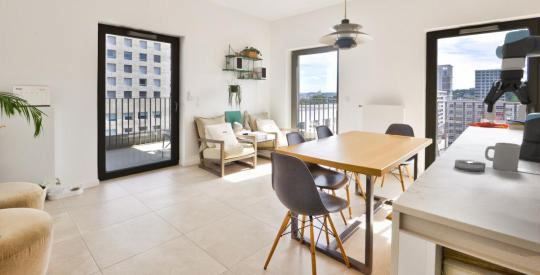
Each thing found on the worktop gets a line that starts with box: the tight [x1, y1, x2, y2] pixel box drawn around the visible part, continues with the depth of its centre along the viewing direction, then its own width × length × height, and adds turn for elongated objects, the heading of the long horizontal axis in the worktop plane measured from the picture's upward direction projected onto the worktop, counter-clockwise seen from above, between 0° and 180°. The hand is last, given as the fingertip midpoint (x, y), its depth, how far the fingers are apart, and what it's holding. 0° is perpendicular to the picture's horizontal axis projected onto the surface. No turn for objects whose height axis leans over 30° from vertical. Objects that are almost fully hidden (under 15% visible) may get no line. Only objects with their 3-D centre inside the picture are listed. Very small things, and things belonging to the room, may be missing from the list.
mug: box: [484, 142, 521, 173], centre depth 125 cm, size 12×8×11 cm
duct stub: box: [454, 158, 487, 173], centre depth 125 cm, size 11×11×3 cm
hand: (505, 120), depth 122 cm, fingers open, 13 cm apart
